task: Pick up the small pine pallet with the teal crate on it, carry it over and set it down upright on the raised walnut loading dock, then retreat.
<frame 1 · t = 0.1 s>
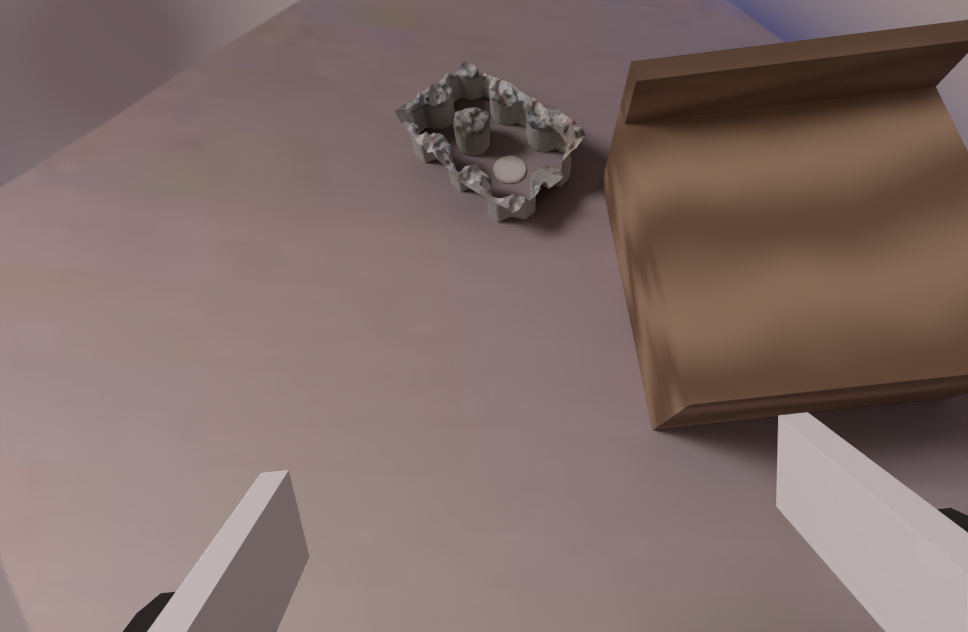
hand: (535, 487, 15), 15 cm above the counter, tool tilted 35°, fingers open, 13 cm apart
egg carton: (490, 161, 37), on the counter
dock: (759, 280, 33), on the counter
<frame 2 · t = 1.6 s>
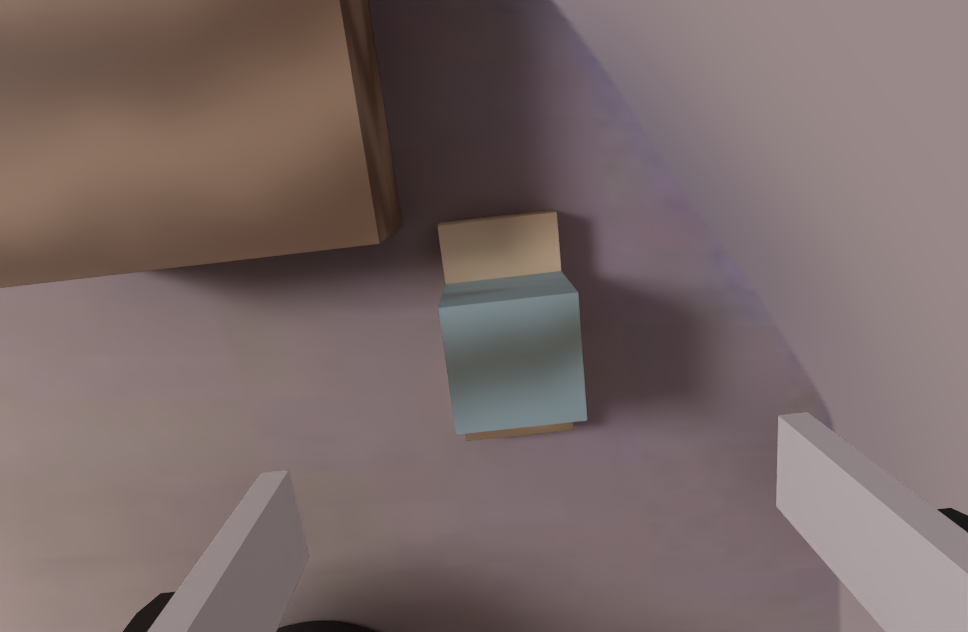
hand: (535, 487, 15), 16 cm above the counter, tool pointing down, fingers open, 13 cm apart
loaded pallet: (507, 322, 31), on the counter
dock: (218, 83, 27), on the counter
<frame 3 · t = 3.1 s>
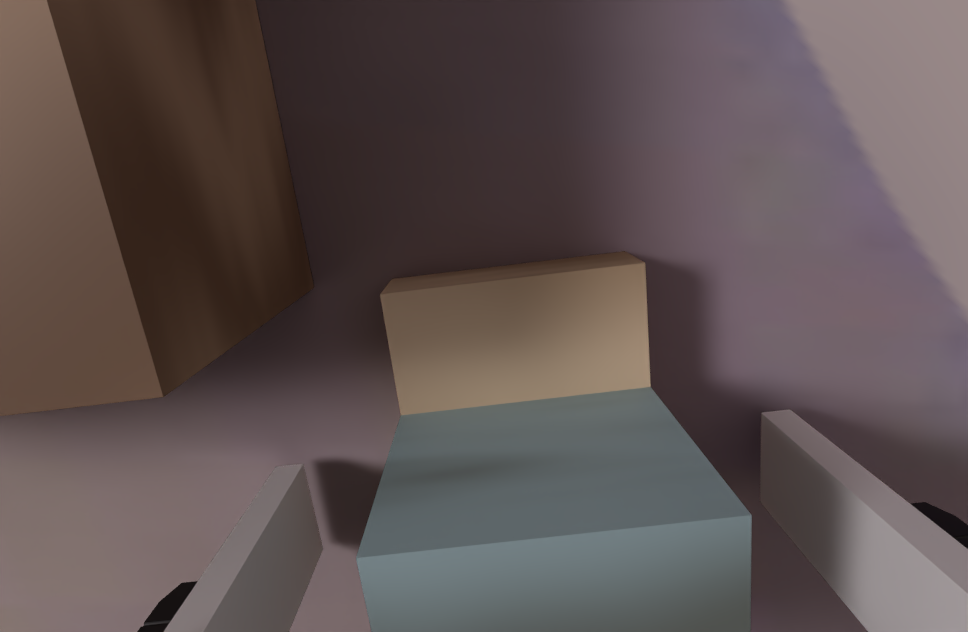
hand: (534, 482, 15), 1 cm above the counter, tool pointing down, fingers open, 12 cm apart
loaded pallet: (529, 468, 16), on the counter
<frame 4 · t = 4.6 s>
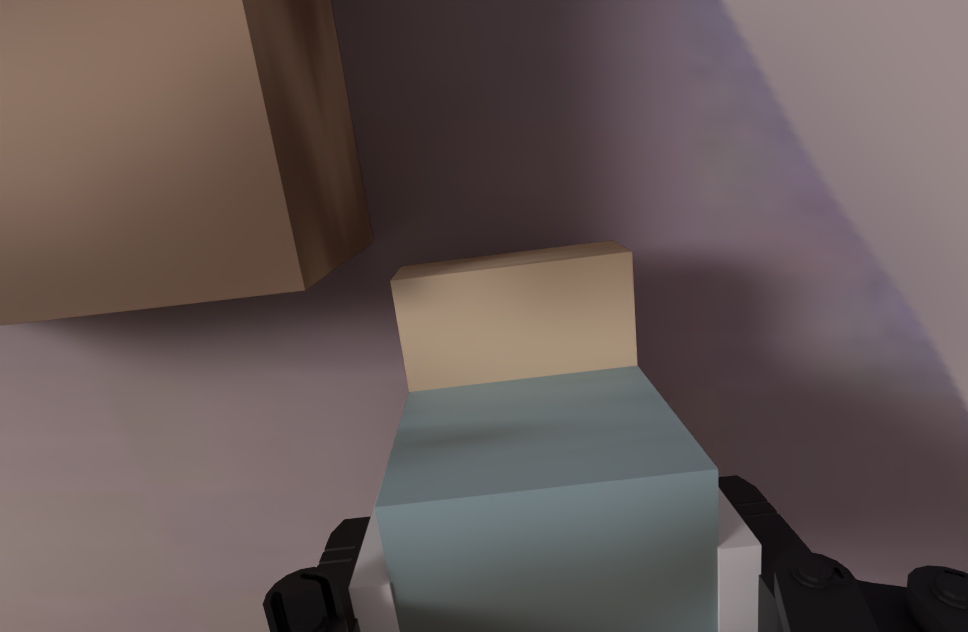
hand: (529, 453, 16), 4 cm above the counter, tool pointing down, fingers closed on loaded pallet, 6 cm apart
loaded pallet: (527, 443, 17), point 3 cm above the counter, touching gripper
dock: (67, 10, 17), on the counter
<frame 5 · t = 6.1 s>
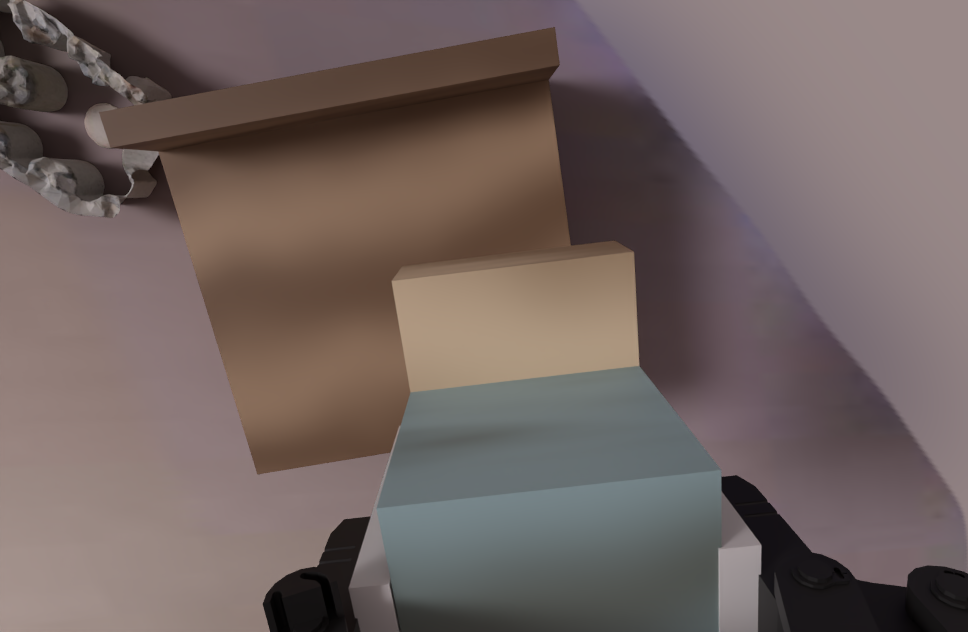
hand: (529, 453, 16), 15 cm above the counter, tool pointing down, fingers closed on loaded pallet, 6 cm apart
egg carton: (81, 111, 29), on the counter
loaded pallet: (528, 443, 17), point 15 cm above the counter, touching gripper
dock: (407, 257, 30), on the counter
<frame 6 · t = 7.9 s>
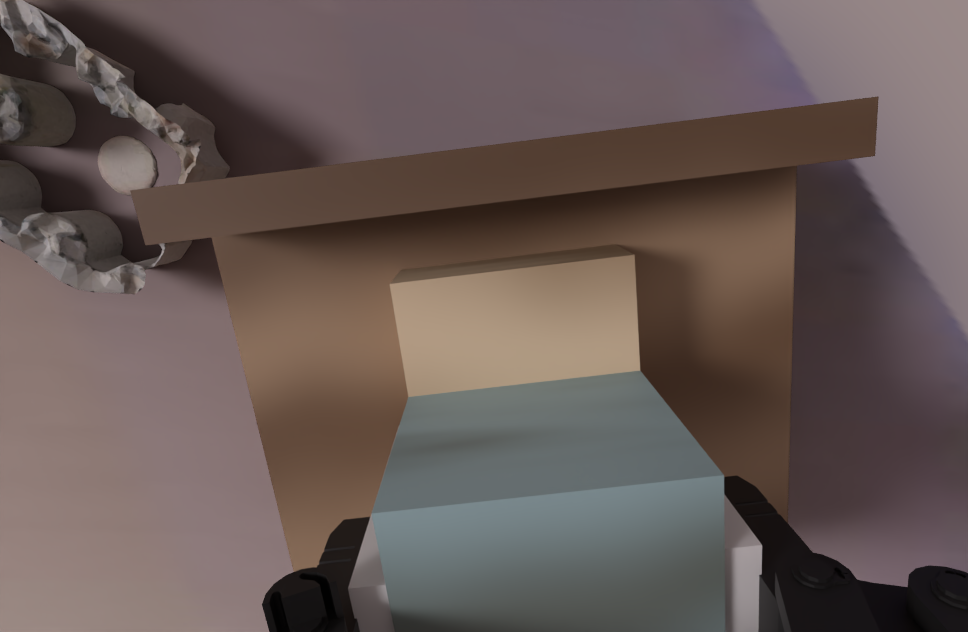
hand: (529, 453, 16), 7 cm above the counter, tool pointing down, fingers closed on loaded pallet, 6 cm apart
egg carton: (93, 145, 22), on the counter
loaded pallet: (528, 450, 17), point 7 cm above the counter, touching dock, gripper
dock: (511, 350, 23), on the counter
when the fingers open (7 cm above the counter, at t = 8.3 s): loaded pallet stays where it is, resting on dock.
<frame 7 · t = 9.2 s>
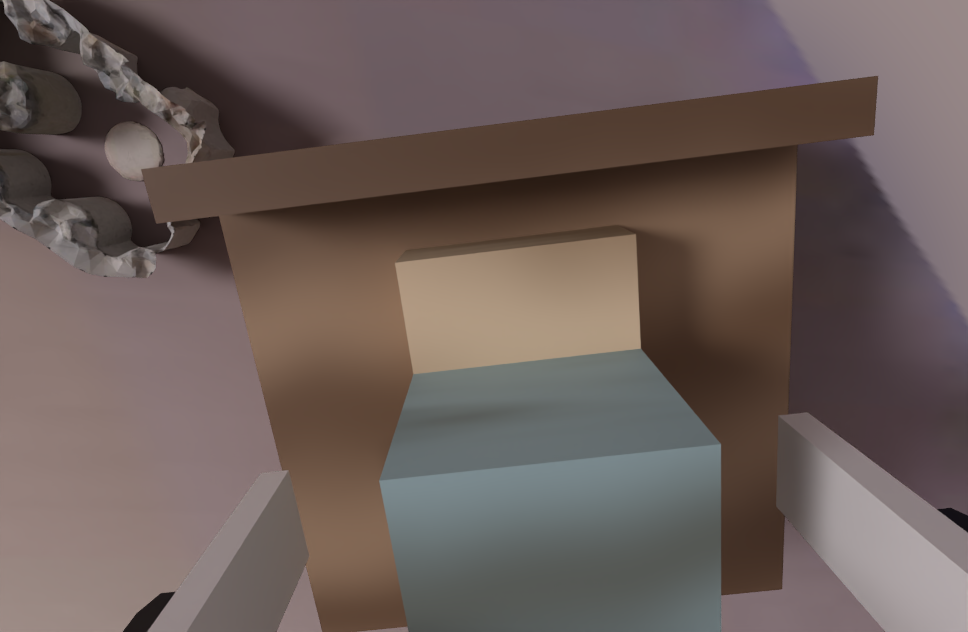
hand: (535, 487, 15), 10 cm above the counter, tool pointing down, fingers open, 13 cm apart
egg carton: (99, 132, 22), on the counter
loaded pallet: (530, 428, 17), point 7 cm above the counter, touching dock
dock: (514, 333, 24), on the counter
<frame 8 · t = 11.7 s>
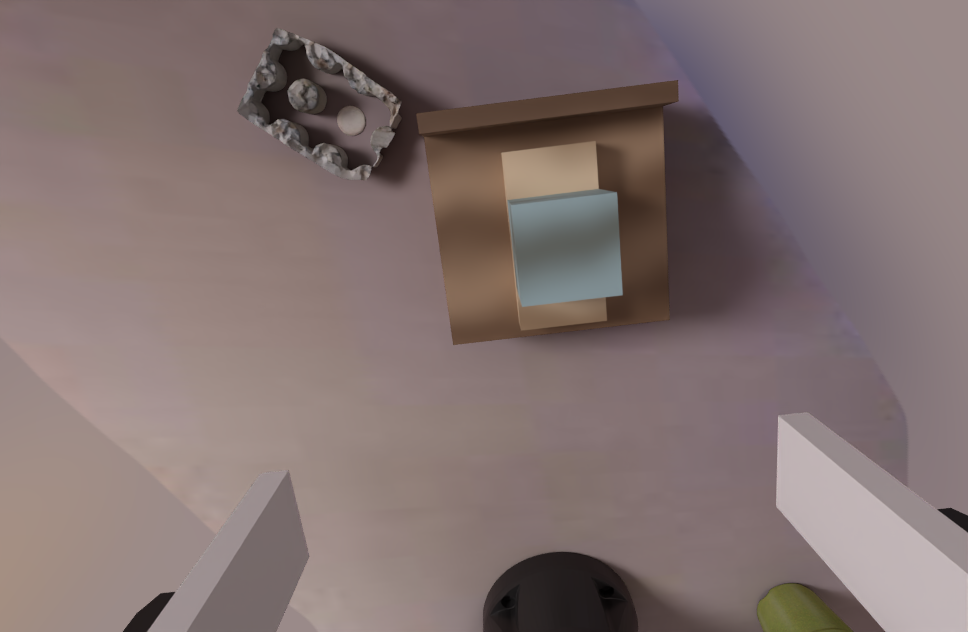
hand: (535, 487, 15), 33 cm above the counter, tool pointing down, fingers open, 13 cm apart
egg carton: (332, 112, 43), on the counter
loaded pallet: (552, 236, 39), point 7 cm above the counter, touching dock
plant pot: (784, 605, 56), on the counter
dock: (540, 215, 45), on the counter
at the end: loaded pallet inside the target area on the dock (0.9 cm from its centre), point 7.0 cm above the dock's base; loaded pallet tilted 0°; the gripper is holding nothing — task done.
